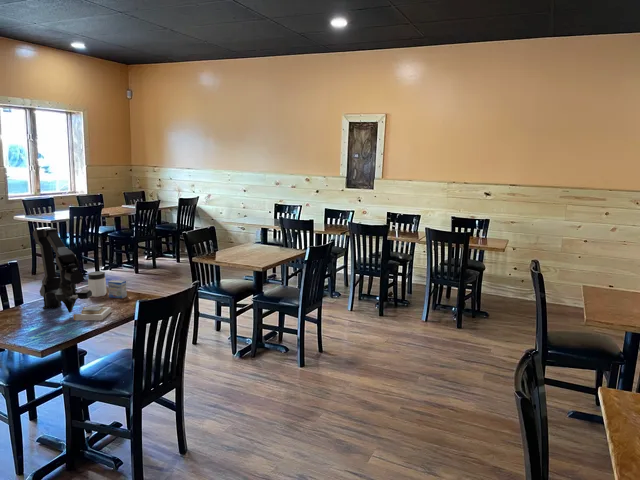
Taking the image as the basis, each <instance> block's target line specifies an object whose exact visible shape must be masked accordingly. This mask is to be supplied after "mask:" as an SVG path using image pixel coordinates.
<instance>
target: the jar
mask: <svg viewBox="0 0 640 480" xmlns="http://www.w3.org/2000/svg"><path fill="white" fill-rule="evenodd" d="M87 277H88V278H87V285H88V286H87V287H88V290H91V292H92V296H91V297H94V298H98V297H103V296H105V295H106V294H107V281H106V278H107V277H106V273H105V271H101V270H100V271H91V272H89V273H87Z"/></svg>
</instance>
